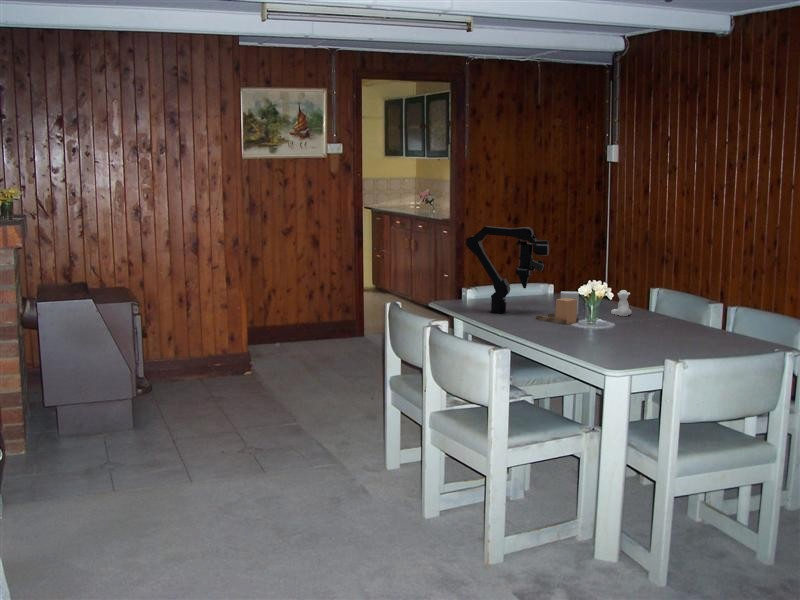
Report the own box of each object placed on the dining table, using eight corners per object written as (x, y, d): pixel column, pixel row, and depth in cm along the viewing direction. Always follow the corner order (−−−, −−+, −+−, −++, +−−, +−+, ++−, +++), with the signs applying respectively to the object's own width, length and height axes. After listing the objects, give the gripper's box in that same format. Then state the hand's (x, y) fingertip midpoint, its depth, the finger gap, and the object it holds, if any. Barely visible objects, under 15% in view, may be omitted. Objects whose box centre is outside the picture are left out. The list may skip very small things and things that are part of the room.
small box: (576, 313, 408) (577, 291, 406) (578, 315, 402) (579, 293, 400) (559, 313, 408) (560, 291, 407) (560, 315, 403) (561, 292, 401)
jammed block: (555, 322, 381) (556, 299, 379) (565, 320, 385) (565, 297, 384) (566, 324, 376) (567, 301, 375) (576, 322, 381) (577, 299, 379)
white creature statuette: (631, 313, 409) (632, 288, 407) (635, 317, 401) (636, 291, 399) (610, 313, 409) (611, 288, 407) (614, 316, 401) (615, 291, 399)
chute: (535, 321, 387) (535, 315, 386) (549, 318, 393) (549, 312, 393) (568, 327, 374) (569, 321, 373) (582, 324, 380) (582, 318, 380)
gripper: (540, 257, 390) (539, 292, 392) (546, 253, 407) (545, 286, 410) (515, 256, 393) (514, 290, 396) (522, 252, 411) (521, 285, 413)
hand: (524, 288), depth 404 cm, fingers closed
